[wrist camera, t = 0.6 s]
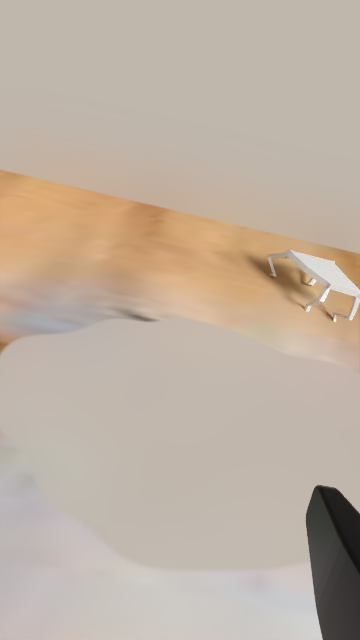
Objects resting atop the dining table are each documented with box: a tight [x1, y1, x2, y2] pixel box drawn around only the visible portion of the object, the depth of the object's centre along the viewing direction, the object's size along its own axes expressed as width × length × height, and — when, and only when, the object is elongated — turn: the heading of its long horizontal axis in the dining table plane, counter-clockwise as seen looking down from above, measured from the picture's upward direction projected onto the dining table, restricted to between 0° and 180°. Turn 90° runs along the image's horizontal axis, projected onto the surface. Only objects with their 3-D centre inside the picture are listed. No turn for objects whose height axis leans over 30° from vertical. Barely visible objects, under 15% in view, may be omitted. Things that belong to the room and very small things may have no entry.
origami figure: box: [267, 249, 360, 322], centre depth 42 cm, size 12×8×5 cm
